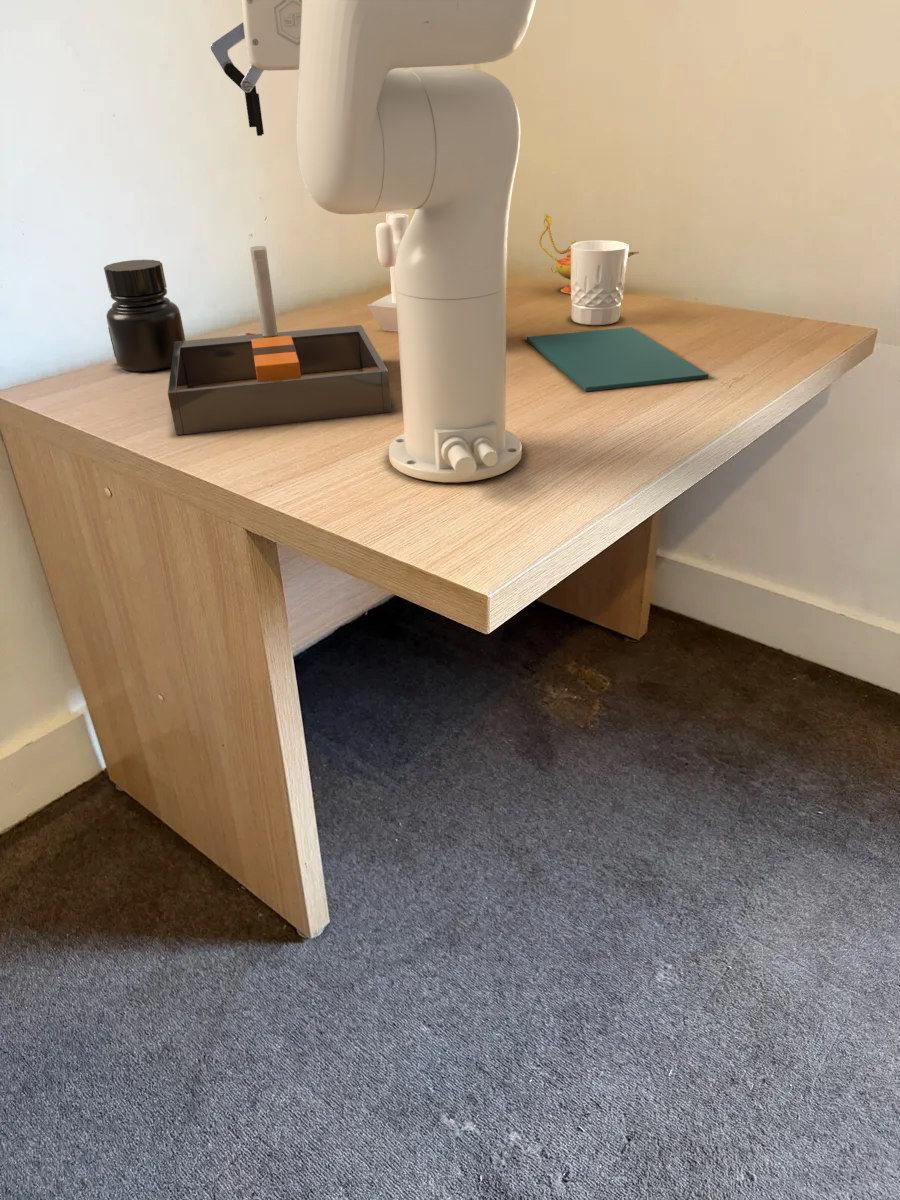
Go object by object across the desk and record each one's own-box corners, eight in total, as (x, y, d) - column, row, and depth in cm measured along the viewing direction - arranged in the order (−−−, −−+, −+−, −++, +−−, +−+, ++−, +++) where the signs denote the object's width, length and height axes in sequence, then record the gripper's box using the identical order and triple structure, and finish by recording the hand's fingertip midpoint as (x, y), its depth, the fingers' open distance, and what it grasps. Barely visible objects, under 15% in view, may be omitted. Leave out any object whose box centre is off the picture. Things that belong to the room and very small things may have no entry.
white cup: (631, 316, 125) (637, 242, 119) (609, 329, 119) (615, 252, 114) (581, 310, 128) (585, 238, 123) (558, 322, 123) (560, 248, 117)
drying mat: (708, 378, 100) (708, 374, 100) (585, 391, 97) (585, 387, 97) (631, 330, 118) (631, 326, 118) (526, 340, 116) (526, 336, 115)
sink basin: (391, 412, 94) (381, 270, 86) (176, 435, 89) (145, 289, 82) (364, 360, 110) (354, 237, 102) (181, 378, 106) (156, 251, 98)
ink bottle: (170, 348, 117) (151, 254, 111) (204, 360, 112) (187, 262, 106) (102, 364, 112) (78, 267, 105) (135, 378, 106) (112, 276, 100)
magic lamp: (625, 303, 131) (631, 225, 126) (526, 289, 141) (528, 216, 135) (646, 294, 136) (653, 218, 130) (549, 281, 146) (551, 210, 140)
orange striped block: (305, 411, 95) (299, 361, 92) (262, 415, 94) (254, 365, 91) (297, 380, 104) (291, 335, 101) (257, 384, 103) (250, 338, 100)
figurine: (440, 321, 125) (436, 209, 117) (411, 338, 118) (405, 219, 110) (395, 317, 128) (388, 207, 120) (365, 334, 121) (355, 217, 113)
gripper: (192, -68, 81) (223, 139, 90) (375, -71, 84) (388, 130, 93) (195, -58, 87) (224, 134, 96) (366, -60, 90) (378, 127, 99)
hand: (304, 132), depth 94 cm, fingers open, 9 cm apart
